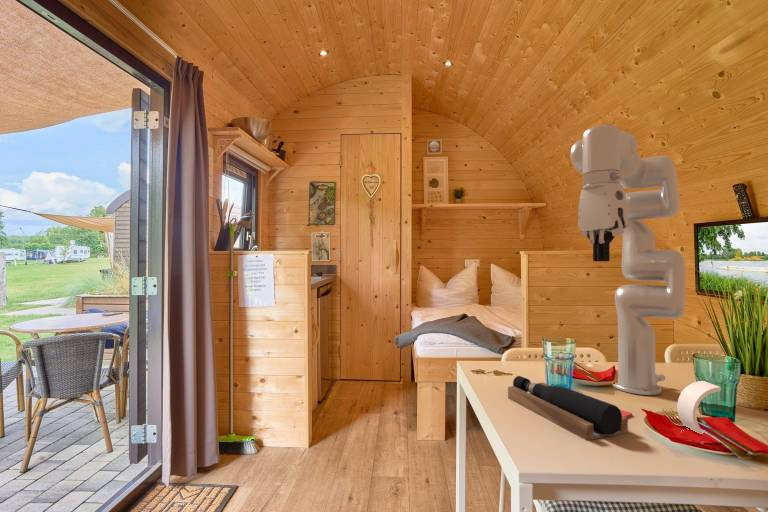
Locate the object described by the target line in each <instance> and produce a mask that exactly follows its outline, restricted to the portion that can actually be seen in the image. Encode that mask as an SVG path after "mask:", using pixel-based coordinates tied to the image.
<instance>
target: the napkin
mask: <svg viewBox="0 0 768 512" xmlns="http://www.w3.org/2000/svg"><path fill="white" fill-rule="evenodd" d="M620 411H621V414H622V416H623V417H626V418H628V419H629V417H633V412H629V411H627V410H623V409H620Z"/></svg>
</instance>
